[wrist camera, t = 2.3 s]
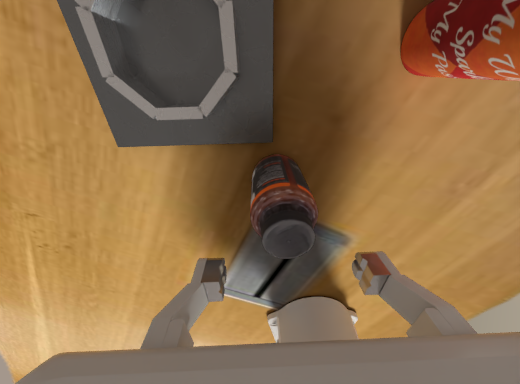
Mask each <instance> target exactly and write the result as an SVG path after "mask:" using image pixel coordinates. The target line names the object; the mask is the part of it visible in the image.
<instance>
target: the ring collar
mask: <svg viewBox="0 0 520 384" xmlns="http://www.w3.org/2000/svg"><path fill="white" fill-rule="evenodd" d="M57 2H58V4H59V6H60V9H61V11H62V14H63V16H64V18H65V21H66V23H67V26H68V28H69V30H70V33H71V35H72V38H73V40H74V42H75V45H76V47H77V50H78V52H79V54H80V57H81V59H82V62H83V64H84V66H85V69H86V71H87V74H88V76H89V78H90V81H91V83H92V85H93V88H94V90H95V93H96V95H97V97H98V100H99V102H100V105H101V107H102V109H103V112H104V114H105V117H106V119H107V121H108V124H109V126H110V129H111V131H112V133H113V136H114V138H115V141H116V143H117V145H118V147H137V146H170V145H202V144H234V143H267V142H273V0H57Z"/></svg>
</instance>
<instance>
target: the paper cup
mask: <svg viewBox="0 0 520 384" xmlns="http://www.w3.org/2000/svg"><path fill="white" fill-rule="evenodd" d="M401 60H402V63H403V65H404V67H405V68H406V70H407V71H409V72H410V73H412V74H415V75H419V76H429V77H446V78H466V79H488V80H511V81H520V0H434V1H432V2H431V3H429V4H428V5H427V6H425V7H424V8H423V9H422V10H421V11H420V12H419V13H418V14H417V15H416V16H415V17H414V19H413V20H412V22H411V23H410V25H409V26H408V28H407V30H406V32H405V35H404V37H403V41H402V45H401Z"/></svg>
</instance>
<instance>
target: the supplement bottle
mask: <svg viewBox="0 0 520 384" xmlns="http://www.w3.org/2000/svg"><path fill="white" fill-rule="evenodd" d="M250 218H251V223H252V226H253V228H254V230H255V231H256V233H257V234H258V235H259V236H261V237H262V244H263V247H264V249H265V250H266V251H267V252H268V253H269V254H270V255H272V256H274V257H277V258H281V259H291V258H296V257H299V256H301V255H303V254H305V253H307V251H309V250H310V249H311V248H312V246H313V244H314V241H315V233H314V230H313V228H314V226H315V224H316V222H317V218H318V210H317V206H316V202H315V200H314V198H313V196H312V194H311V192H310V189H309V187H308V185H307V183H306V181H305V179H304V177H303V175H302V173H301V171H300V169H299V167H298V165H297V164H296V163H295V161H294V160H292V159H291V158H289V157H287V156H285V155H279V154H275V155H270V156H267V157H265V158H263V159H262V160H261V161H260V162H258V164H257V165H256V167H255V169H254V171H253V176H252V191H251V209H250Z"/></svg>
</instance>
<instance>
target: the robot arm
mask: <svg viewBox="0 0 520 384" xmlns="http://www.w3.org/2000/svg"><path fill="white" fill-rule="evenodd" d="M355 258H356V260H354V261H353V263H352V270H353V273H354V275H355V277H356V278H357V279H358V280H360V281H359V285H360V287H361V289H362V291H363V293H364V295H379V296H380V297H381V298H382V299H383V300H385V301H386V302H387V303H388V304H389V305H390V306H391V307H392V308H393V309H395V310H396V311H397V312H398V313H399V314H400V315H401V316H402V317H403V318H404V319H406V320H407V321H408V322H409V323H410V324H411V327H410V328H409V329H408V330H407V335H408V337H398V338H376V339H359V338H358V335H357V332H356V329H355V326H354V324H355V323H356V321H357V320H358V317H357V314H356V313H355V312H353V311H351V310H348V309H347V308H346V307H345V306H344V305H343V304H342V303H340V302H339V301H337V300H334V299H331V298H326V297H308V298H302V299H299V300H296V301H293V302H291V303H289V304H287V305H285V306H284V307H283V308H282V309H280V310H279V311H276V312H273V313H271V314H269V315H268V316H267V319H268V323H269V326H270V328H271V331H272V333H273V336H274V338H275V341H276V343H265V344H243V345H221V346H199V347H193V345H194V342H193V340H192V338H191V335H190V333H189V330H190V328H191V327H192V326H193V324H194V323H195V321H196V320H197V319H198V317H199V316H200V314H201V313H202V311H203V310H204V309H205V307H206V306H207V304H208V303H209V302H213V301H223V298H224V291H225V289H224V284H225V283H226V266H224V265H225V260H224V258H200V259H199V260H198V261H197V264H196V267H195V271H194V274H193V277H192V280H191V284H187V285H186V286H185V287H184V288H183V289H182V290H181V291H180V292H179V293H178V294H177V295H176V296H175V297H174V298H173V299H172V300H171V301H170V302H169V303H168V304H167V305H166V306H165V307H164V308H163V309H162V310H161V311H160V312H159V313H158V314H157V315H156V316H155V317H154V318H153V320H152V323H151V325H150V327H149V330H148V332H147V334H146V337H145V339H144V341H143V344H142V346H141V348H140V349H133V350H111V351H89V352H66V353H60V354H57V355H54V356H52V357H51V358H49V359H48V360H46V361H45V362H43V363H42V364H41V365H39V366H38V367H37V368H35V369H34V370H32V371H31V372H30V373H28V374H27V375H26V376H24V377H23V378H22V379H20V380H19V381H18V382H17V383H15V384H520V332H511V333H510V332H509V333H486V334H477V332H476V331H475V330H474V329H473V328H472V327H471V326H470V325H469V323H468V322H467V321H466V320H465V319H464V318H463V317H462V315H461V314H460V313H459V312H458V311H457V310H456V309H455V307H454V306H452V305H451V304H449V303H447V302H446V301H444V300H443V299H441V298H440V297H438V296H436V295H435V294H433V293H432V292H430V291H429V290H427V289H425V288H424V287H422V286H421V285H419V284H417V283H416V282H414V281H413V280H411V279H410V278H408V277H406V276H405V275H401V274H400V273H399V271H398V270H397V269H396V267H395V266H394V265H393V263H392V262H391V261H390V259H389V258H388V257H387V255H386V254H385V253H384V252H358V253H356V255H355Z"/></svg>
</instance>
